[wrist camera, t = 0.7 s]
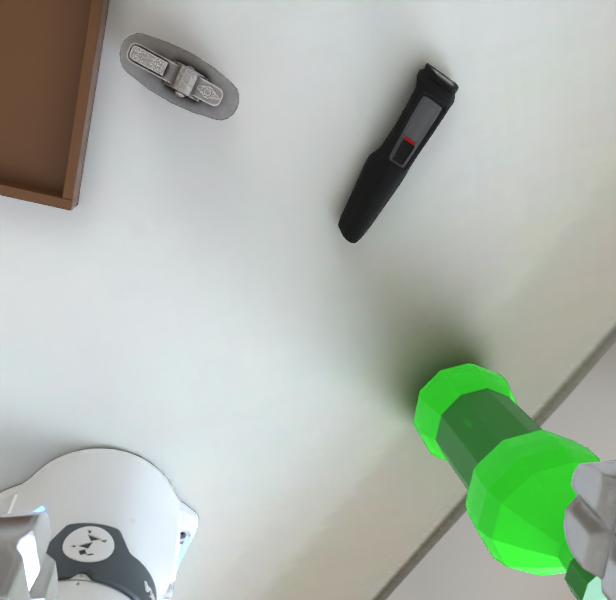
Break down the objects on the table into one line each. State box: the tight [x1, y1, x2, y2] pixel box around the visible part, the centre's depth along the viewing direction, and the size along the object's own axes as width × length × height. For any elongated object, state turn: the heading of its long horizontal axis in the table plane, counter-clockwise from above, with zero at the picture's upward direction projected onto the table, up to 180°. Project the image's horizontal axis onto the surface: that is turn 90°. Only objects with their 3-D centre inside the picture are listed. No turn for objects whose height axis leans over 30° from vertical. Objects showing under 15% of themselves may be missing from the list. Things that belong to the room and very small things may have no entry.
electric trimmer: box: [338, 63, 458, 243], centre depth 48 cm, size 4×16×3 cm, turn 148°
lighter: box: [120, 33, 239, 120], centre depth 40 cm, size 8×3×10 cm, turn 62°
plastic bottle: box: [414, 363, 608, 600], centre depth 47 cm, size 10×10×25 cm
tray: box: [0, 0, 109, 210], centre depth 41 cm, size 19×13×2 cm
